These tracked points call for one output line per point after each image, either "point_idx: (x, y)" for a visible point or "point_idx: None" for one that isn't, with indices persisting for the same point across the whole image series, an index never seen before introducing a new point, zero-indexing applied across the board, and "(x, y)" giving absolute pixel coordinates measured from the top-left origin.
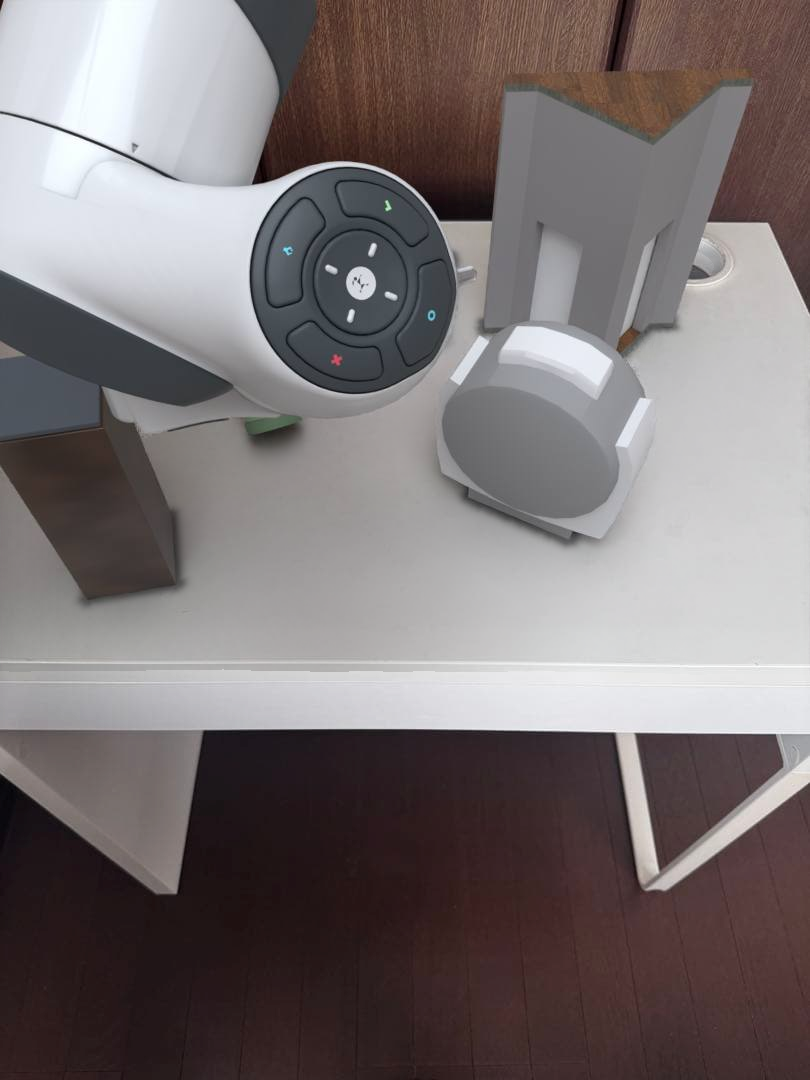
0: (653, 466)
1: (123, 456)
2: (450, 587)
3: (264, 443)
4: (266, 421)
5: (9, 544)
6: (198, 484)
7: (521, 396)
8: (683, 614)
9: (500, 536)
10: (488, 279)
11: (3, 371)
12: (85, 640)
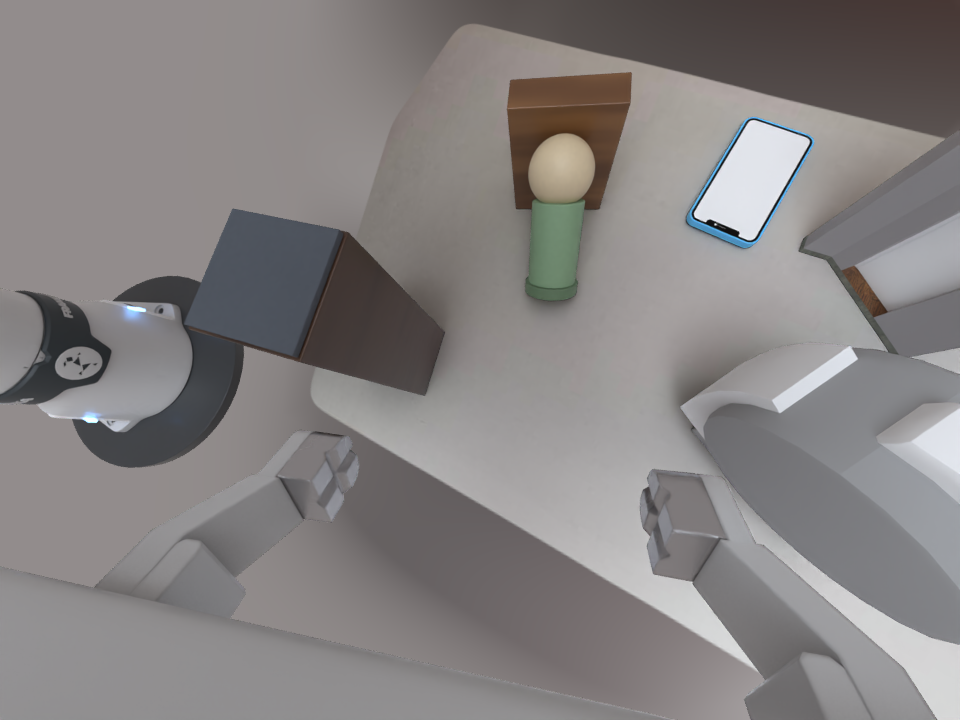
0: None
1: (354, 356)
2: (631, 510)
3: None
4: (542, 291)
5: None
6: (473, 313)
7: (894, 530)
8: None
9: None
10: (860, 207)
11: (234, 230)
12: (353, 410)
